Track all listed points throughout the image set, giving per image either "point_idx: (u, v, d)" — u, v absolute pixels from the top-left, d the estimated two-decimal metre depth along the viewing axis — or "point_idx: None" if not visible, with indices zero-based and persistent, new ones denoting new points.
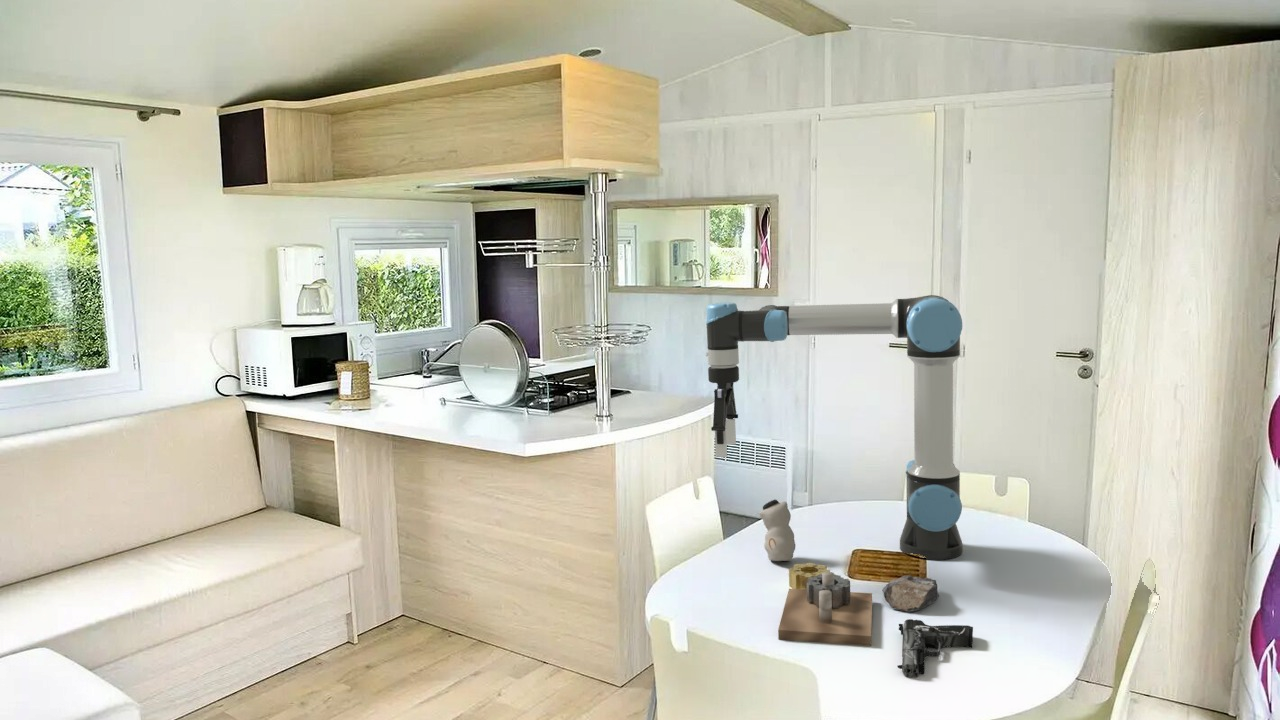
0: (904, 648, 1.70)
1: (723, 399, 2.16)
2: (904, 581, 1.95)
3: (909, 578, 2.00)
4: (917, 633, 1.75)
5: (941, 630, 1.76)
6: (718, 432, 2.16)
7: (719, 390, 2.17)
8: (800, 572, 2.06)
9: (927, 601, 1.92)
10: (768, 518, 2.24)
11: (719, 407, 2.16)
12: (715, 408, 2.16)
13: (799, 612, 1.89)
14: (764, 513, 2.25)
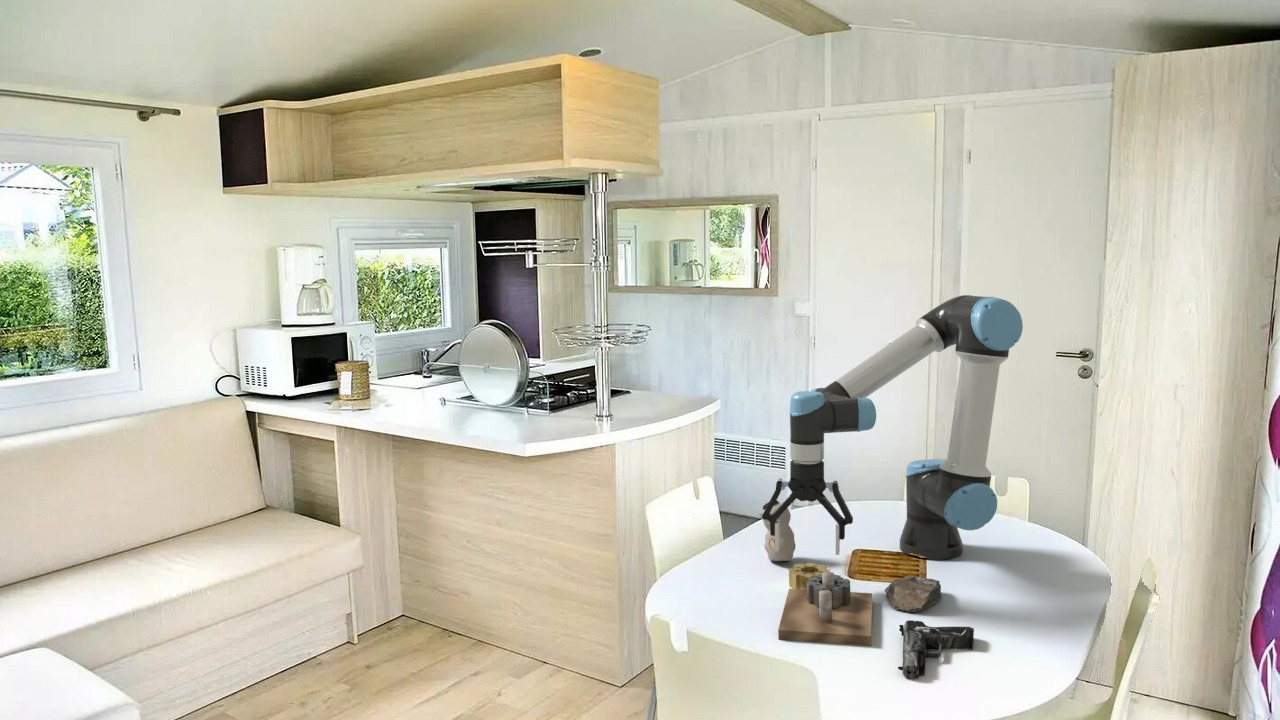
0: (904, 649, 1.69)
1: (775, 490, 2.06)
2: (907, 581, 1.95)
3: (912, 579, 2.00)
4: (918, 634, 1.75)
5: (942, 631, 1.76)
6: None
7: (777, 480, 2.07)
8: (800, 572, 2.06)
9: (929, 602, 1.92)
10: None
11: None
12: None
13: (799, 612, 1.89)
14: None
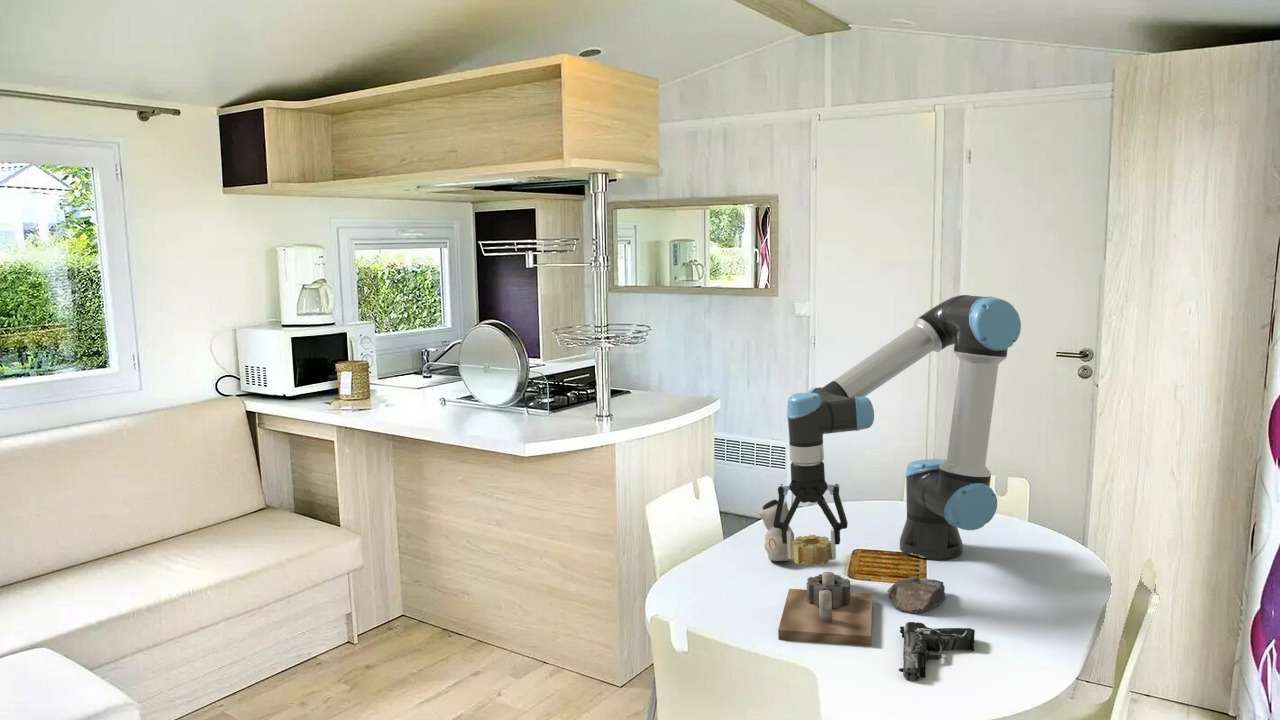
0: (905, 651, 1.69)
1: (779, 497, 2.06)
2: (909, 582, 1.95)
3: (916, 579, 1.99)
4: (918, 636, 1.74)
5: (942, 633, 1.75)
6: None
7: None
8: (802, 544, 2.06)
9: (932, 603, 1.92)
10: (768, 518, 2.24)
11: None
12: None
13: (799, 612, 1.89)
14: (764, 513, 2.25)
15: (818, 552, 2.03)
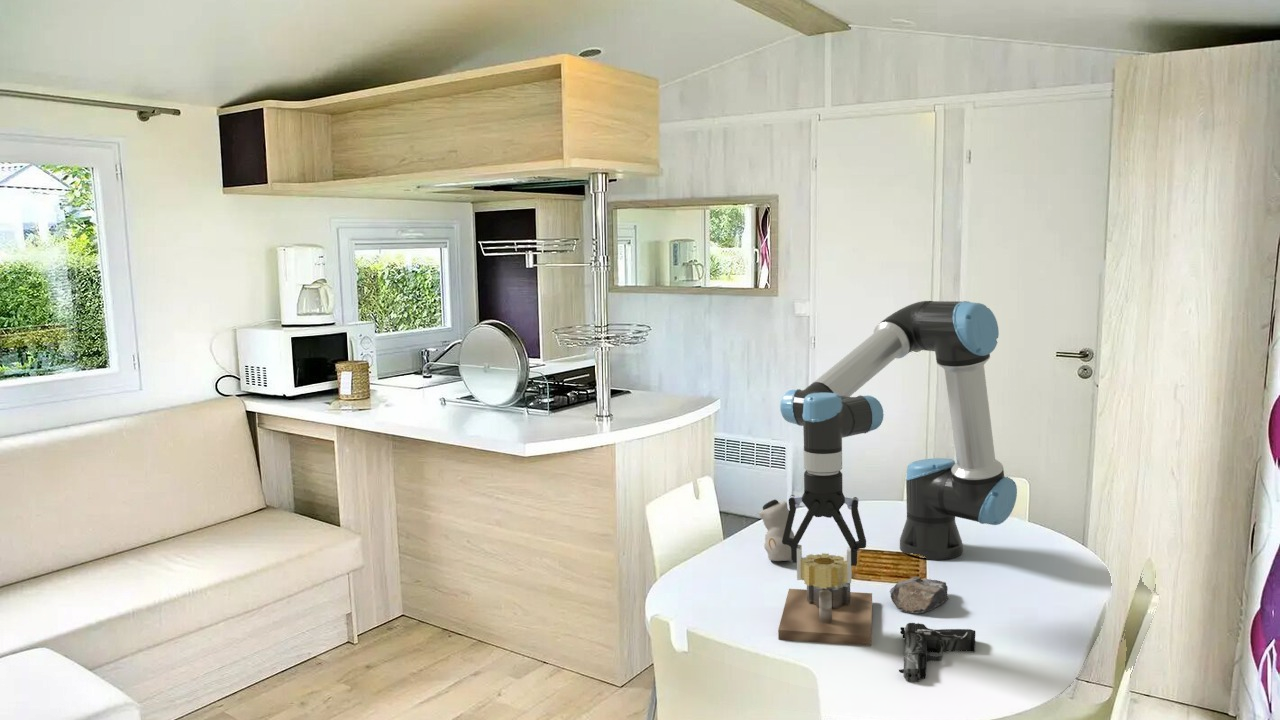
0: (906, 652, 1.68)
1: None
2: (912, 583, 1.94)
3: (918, 580, 1.99)
4: (919, 637, 1.74)
5: (943, 634, 1.74)
6: None
7: (789, 498, 1.83)
8: (814, 563, 1.81)
9: (934, 603, 1.91)
10: (768, 518, 2.24)
11: None
12: None
13: (799, 612, 1.89)
14: (764, 513, 2.25)
15: (832, 574, 1.79)
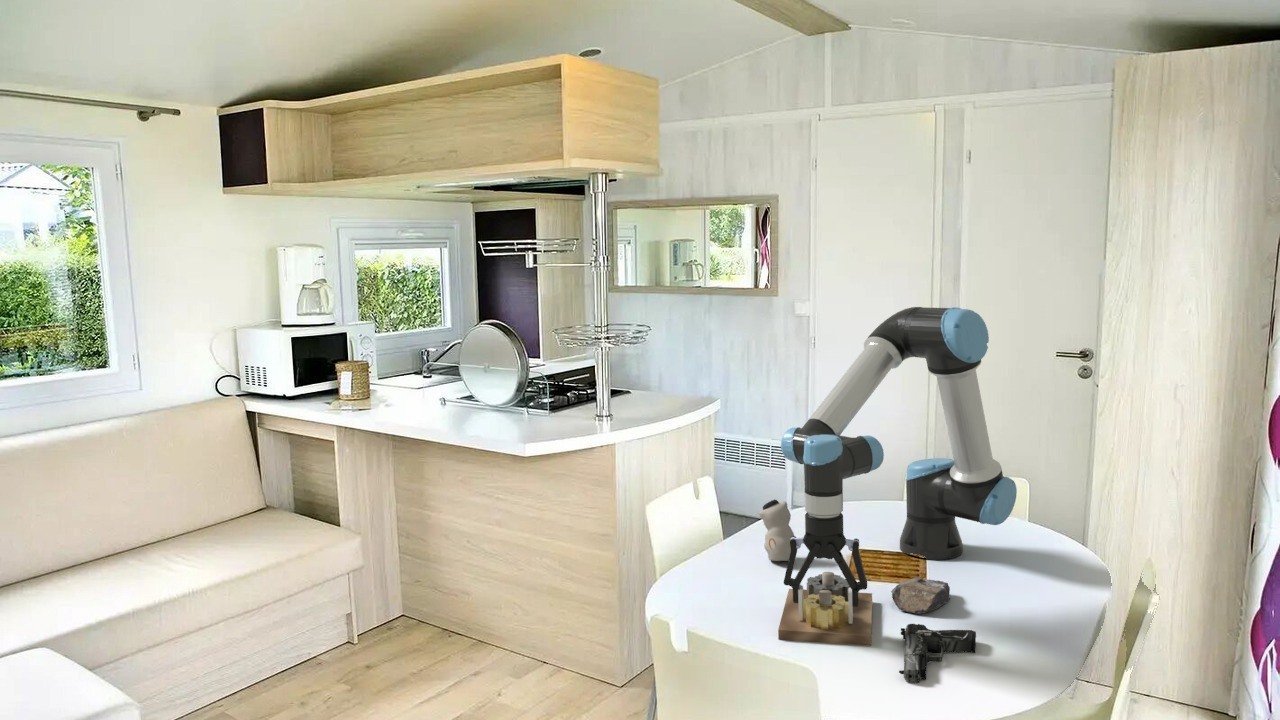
0: (906, 653, 1.68)
1: (791, 551, 1.83)
2: (913, 583, 1.94)
3: (920, 580, 1.99)
4: (919, 638, 1.73)
5: (944, 635, 1.74)
6: None
7: (791, 539, 1.84)
8: (815, 604, 1.83)
9: (936, 604, 1.91)
10: (768, 518, 2.24)
11: None
12: None
13: None
14: (764, 513, 2.25)
15: (833, 615, 1.80)
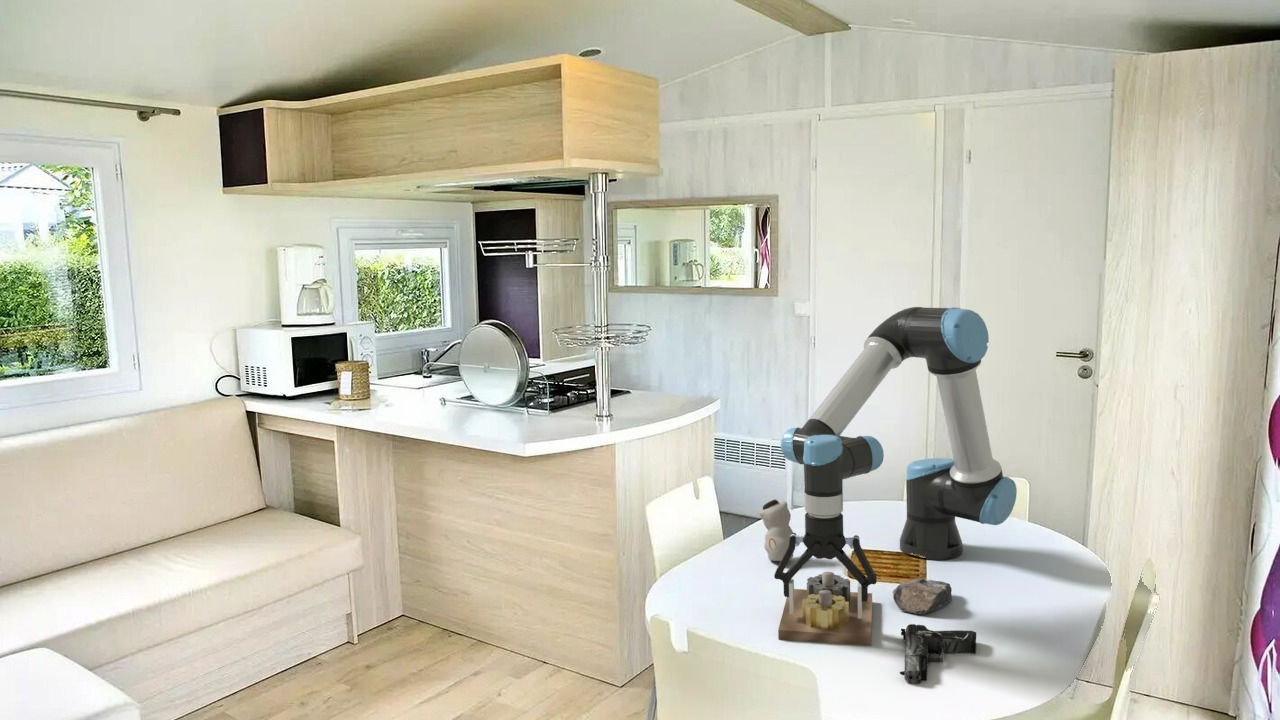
0: (906, 654, 1.68)
1: (788, 547, 1.83)
2: (914, 583, 1.94)
3: (922, 581, 1.99)
4: (920, 638, 1.73)
5: (944, 635, 1.74)
6: None
7: (791, 535, 1.84)
8: (815, 604, 1.83)
9: (937, 604, 1.91)
10: (768, 518, 2.24)
11: (784, 554, 1.85)
12: None
13: (799, 612, 1.89)
14: (764, 513, 2.25)
15: (833, 615, 1.80)
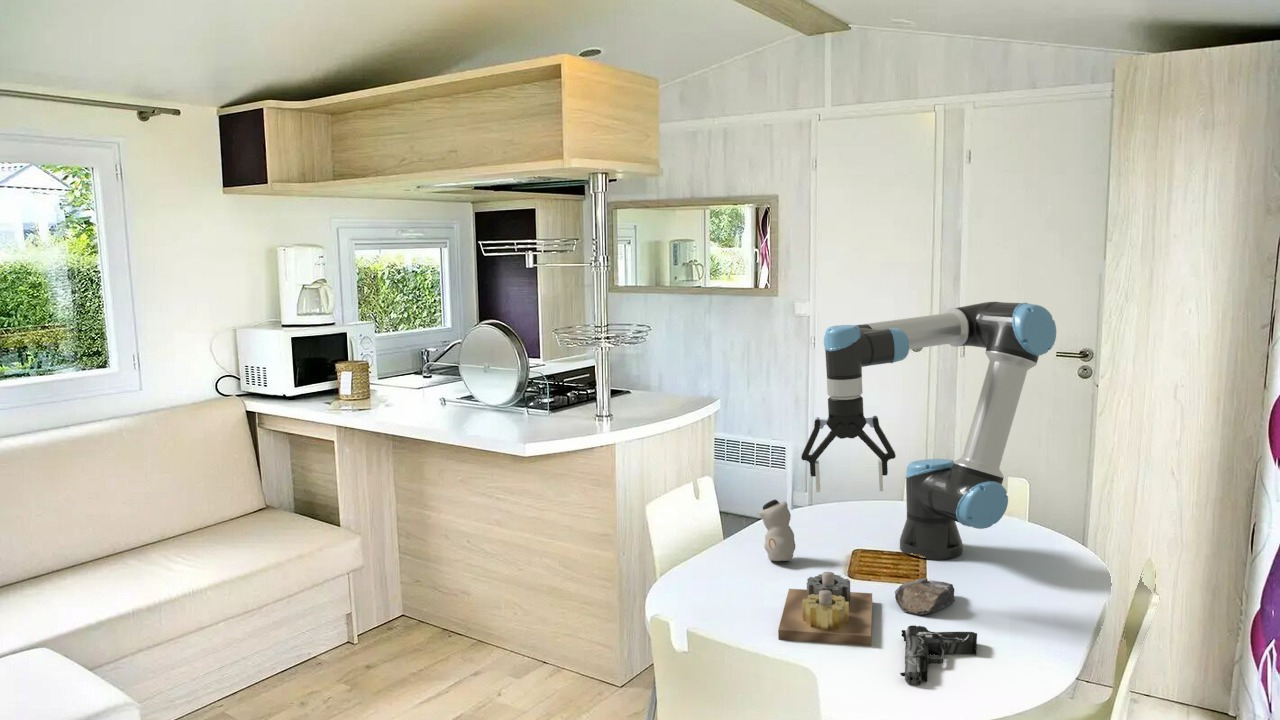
0: (907, 655, 1.67)
1: (814, 429, 2.00)
2: (917, 584, 1.94)
3: (924, 581, 1.98)
4: (920, 640, 1.72)
5: (945, 637, 1.73)
6: None
7: (815, 419, 2.00)
8: (815, 604, 1.83)
9: (939, 605, 1.90)
10: (768, 518, 2.24)
11: (810, 437, 2.01)
12: None
13: (799, 612, 1.89)
14: (764, 513, 2.25)
15: (833, 615, 1.80)
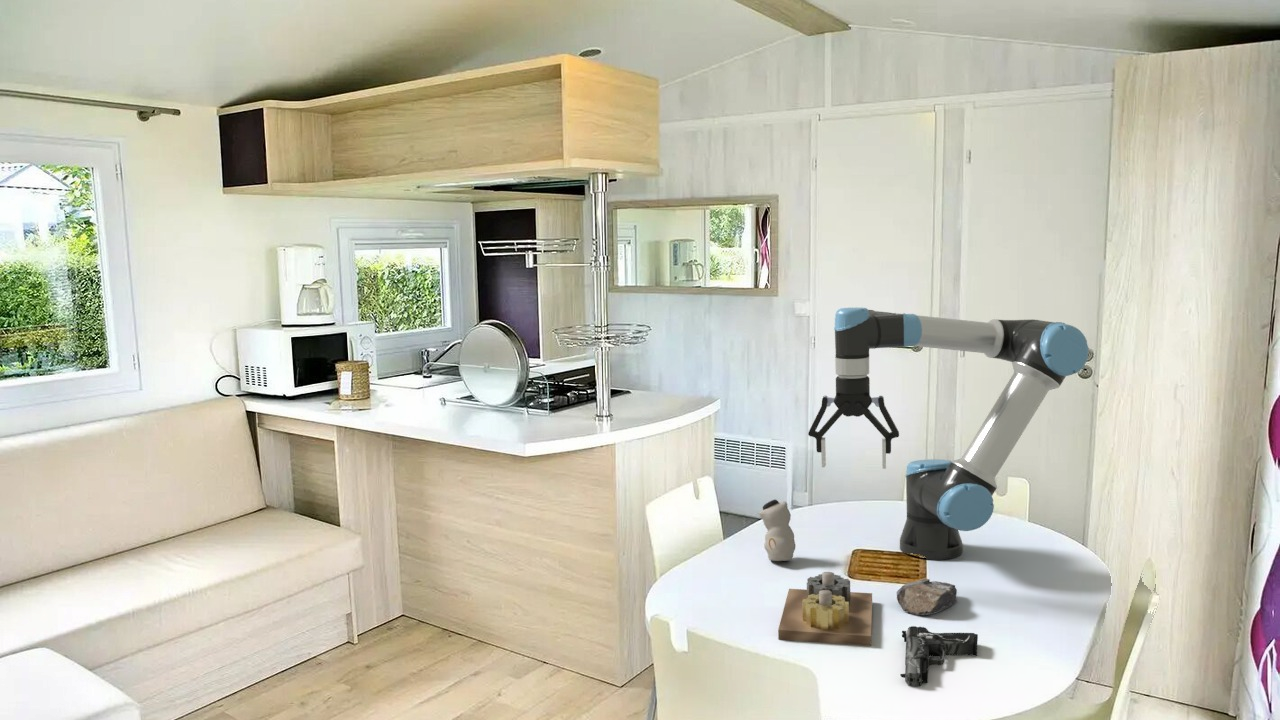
0: (907, 656, 1.67)
1: (821, 407, 2.08)
2: (918, 584, 1.93)
3: (926, 582, 1.98)
4: (921, 641, 1.72)
5: (945, 638, 1.73)
6: (816, 439, 2.10)
7: (823, 397, 2.09)
8: (815, 604, 1.83)
9: (940, 606, 1.90)
10: (768, 518, 2.24)
11: (817, 414, 2.09)
12: None
13: (799, 612, 1.89)
14: (764, 513, 2.25)
15: (833, 615, 1.80)
